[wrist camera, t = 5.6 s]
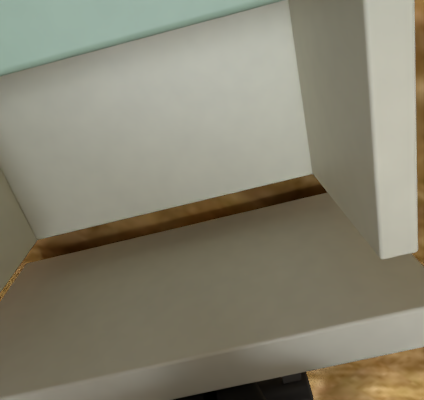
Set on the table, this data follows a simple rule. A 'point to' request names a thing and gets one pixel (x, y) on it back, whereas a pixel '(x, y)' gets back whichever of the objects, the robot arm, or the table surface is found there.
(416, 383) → the table surface
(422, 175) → the table surface
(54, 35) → the drawer cabinet
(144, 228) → the table surface
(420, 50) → the table surface
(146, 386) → the cream drawer
